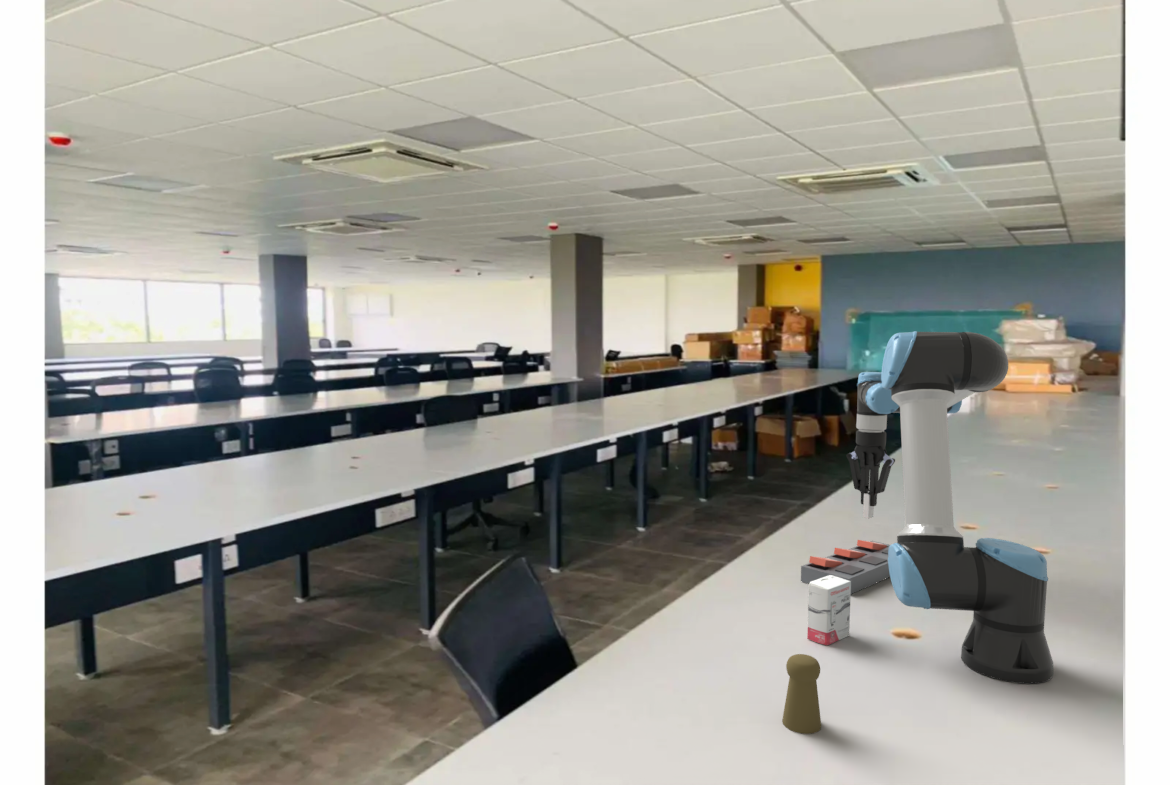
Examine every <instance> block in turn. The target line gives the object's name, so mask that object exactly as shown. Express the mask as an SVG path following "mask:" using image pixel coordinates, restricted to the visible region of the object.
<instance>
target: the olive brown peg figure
mask: <svg viewBox="0 0 1170 785" xmlns="http://www.w3.org/2000/svg"><path fill="white" fill-rule="evenodd" d="M785 667H786V668H785V669H786V673H787V675H788V676H789V677H788V678H789V679H788V685H787V691H786V696H785V702H784V709H783V715H782V721H781V722H782V725H783V726H784V727H785V728H786V729H787V730H790V731H792V732H794V733H798V734H803V735H805V734H806V735H810V734H815V733H817V732H819V731H821V729H822V720H821V719H822V718H821V711H820V704H819V702H820V701H819V691H818V685H817V684H818V683H817V680H818V679H819V677H820V674H821V666H820V663H819V660H817V659H816V658H815V657H814V656H812V655H809V654H804V653H803V654H802V653H797V654H796V653H795V654H793V655H791V656H790V657H788V659H787V661H786V664H785Z"/></svg>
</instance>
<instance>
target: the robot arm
mask: <svg viewBox="0 0 1170 785" xmlns="http://www.w3.org/2000/svg"><path fill="white" fill-rule="evenodd" d="M886 344H887V345H886V346H885V350H884V354H883V360H882V364H881V371H880V372H879V371H864V372H863V371H862V372H860V373H859V374H858V379H857V383H856V387H857V400H856V401H857V405H856V407H857V409H856V424H855V427H856V429H857V430H856V431H855V443H856V446H855V448H854V450H853V451H852V452H849V453H847V454H846V455H845V456H846V459H847V460H848V462H849V468H850V472H851V473H850V474H851V479H852V483H853V487H854V489H855V490H858V491H859V492H860V504H861V505H863V506H862V507H863V509H862V510H863V511H862V518H863V519H872V518H874V507H876V506H877V504H878V494H881V493H884V492H885V491H886V487H887V484H888V480H889V477H890V472H891V470H892V467H893V465H894V464H895V463H896V459H895V458H894V457H892V458H891V457H890V456H889V455H888V452H887V450H886V444H887V432H886V431H885V430H887V426H888V424H887V423H888V422H887V421H888V415H889V414H891V413H893V414H895V413H896V414H897V413H898V414H900V416H899V418H900V438H901V460H902V461H901V462H902V463H901V464H902V465H901V466H902V484H903V488H902V489H903V506H904V511H903V512H904V527H903V528H902V530H900V531H899V532H898V533H897V534H896V542H894V543H891V544H889V545H890V547H889V550H888V556H889V557H888V566H889V573H890V581H891V585H892V588H893V591H894V593H895V596H896V598H897V599H898V600H899V602H900V603H901V604H903V605H905V606H907V607H910V608H911V607H912V608H920V609H921V608H922V609H924V610H930V609H934V610H936V609H937V610H949V611H950V610H951V611H973V614H972V617H973V618H972V622H971V623H970V626H969V629H968V631H967V633H966V635H965V637H964V640H963V642H962V644H961V655H960V658H961V661H962V663H964V665H965V666H967V667H968V668H969V669H971V670H973V671H974V672H976V673H979V674H981V675H983V676H986V677H988V678H992V679H996V680H999V681H1005V682H1009V683H1010V682H1011V683H1014V684H1015V683H1017V684H1040V683H1045V682H1048V681H1049V680H1051V679H1052V678H1053V676H1054V661H1053V656H1052V655H1051V651H1050V648H1049V644H1048V641H1047V638H1046V634H1045V619H1046V605H1047V604H1046V603H1047V587H1048V581H1049V578H1048V562H1047V558H1046V557H1045V556H1044V554H1042V553H1041V552H1040V551H1038V550H1037V549H1035V548H1032V547H1030V546H1028V545H1024V544H1020V543H1017V542H1014V541H1011V540H1010V541H1009V540H1005V539H1001V538H1000V539H999V538H993V537H984V538H982V537H981V538H979V539H977V540H976V543H975V547H971V546H969V547H968V546H965V544H964V536H963V534H962V533H960V532H959V531H958V530H957V529H956V528H955V526H954V525H955V524H954V523H955V522H954V508H953V507H954V506H953V491H952V490H953V489H952V474H951V473H952V471H951V456H950V453H951V452H950V438H949V424H948V423H949V421H948V414H956V413H958V412H959V411H960V409H961V407H962V404H963V400H966V399H967V398H968V397H970V396H971V395H973V394H975V393H978V394H979V393H980V394H981V393H985V392H988V391H990V390H992V389H994V388H996V387H997V386H999V385H1000V384H1002V382H1003V381H1004V380H1005V378H1006V376H1007V374H1008V372H1009V360H1008V356H1007V354H1006V351H1005V350H1004V348H1003V347H1002V346H1001V345H1000V344H999V343H998V342H996V341H995V340H994V339H993V338H991V337H989V336H987V335H984V334H981V333H977V332H971V331H962V332H959V331H957V332H956V331H955V332H954V331H917V330H915V331H910V332H908V331H907V332H897V333H894V334H893V335H892V336H891V337H890V338H889V340H888V342H887V343H886ZM859 461H860V463H859ZM881 463H883V464H882V466H881ZM880 466H881V470H880ZM879 472H880V473H879Z"/></svg>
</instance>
